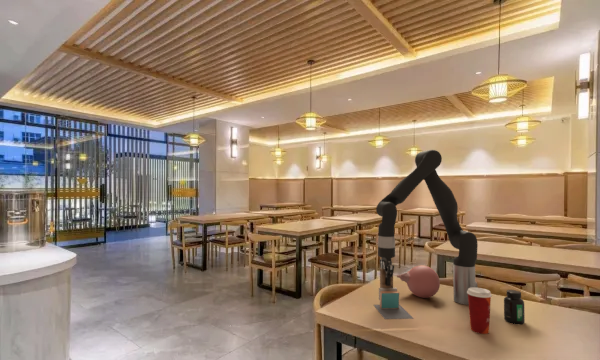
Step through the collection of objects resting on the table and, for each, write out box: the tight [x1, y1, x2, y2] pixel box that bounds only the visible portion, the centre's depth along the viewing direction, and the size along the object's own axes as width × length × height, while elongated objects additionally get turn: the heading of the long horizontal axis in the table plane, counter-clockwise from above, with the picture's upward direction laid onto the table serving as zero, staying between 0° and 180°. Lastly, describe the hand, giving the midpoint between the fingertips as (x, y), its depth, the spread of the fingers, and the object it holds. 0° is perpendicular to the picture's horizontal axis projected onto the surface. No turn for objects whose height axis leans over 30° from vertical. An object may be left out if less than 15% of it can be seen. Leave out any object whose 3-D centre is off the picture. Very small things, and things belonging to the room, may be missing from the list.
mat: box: [373, 303, 415, 320], centre depth 136 cm, size 12×16×1 cm
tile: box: [379, 290, 400, 309], centre depth 140 cm, size 8×2×7 cm, turn 93°
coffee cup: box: [467, 287, 493, 335], centre depth 120 cm, size 8×8×15 cm
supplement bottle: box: [503, 289, 526, 326], centre depth 128 cm, size 7×7×12 cm
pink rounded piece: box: [396, 264, 441, 299], centre depth 157 cm, size 15×20×15 cm
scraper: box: [378, 268, 398, 301], centre depth 143 cm, size 8×4×13 cm, turn 93°
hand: (386, 284), depth 144 cm, fingers closed on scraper, 3 cm apart
